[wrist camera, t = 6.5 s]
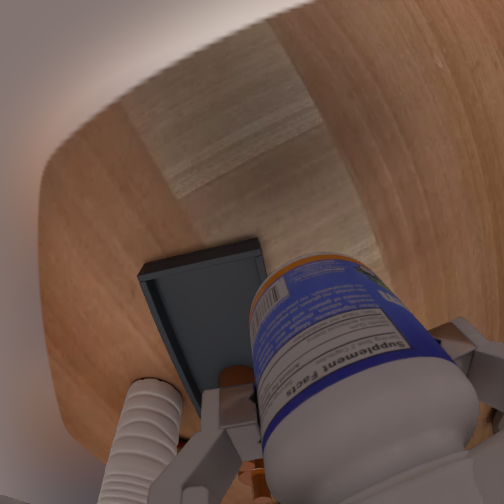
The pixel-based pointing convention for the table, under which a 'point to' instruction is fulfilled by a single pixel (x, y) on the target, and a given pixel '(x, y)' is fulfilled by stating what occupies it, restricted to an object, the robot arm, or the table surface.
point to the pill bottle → (356, 392)
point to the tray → (205, 310)
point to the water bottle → (142, 442)
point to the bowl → (497, 421)
